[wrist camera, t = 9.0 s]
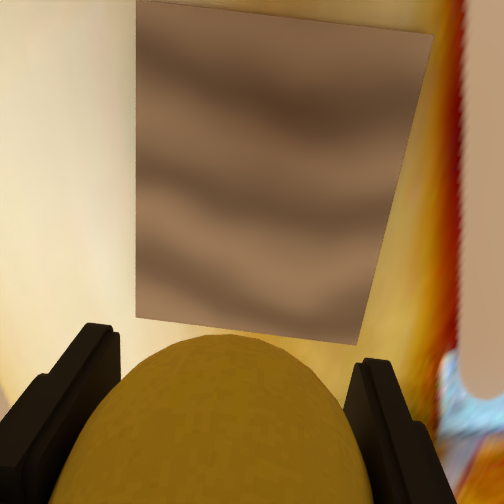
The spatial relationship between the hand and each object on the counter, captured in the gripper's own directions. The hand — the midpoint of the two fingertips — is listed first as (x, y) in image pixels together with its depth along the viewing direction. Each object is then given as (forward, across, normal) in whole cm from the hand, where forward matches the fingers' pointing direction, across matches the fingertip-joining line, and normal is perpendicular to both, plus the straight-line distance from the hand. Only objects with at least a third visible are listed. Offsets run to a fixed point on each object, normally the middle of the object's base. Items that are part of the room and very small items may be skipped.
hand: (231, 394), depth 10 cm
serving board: (+19, 0, 0) cm, 19 cm away
